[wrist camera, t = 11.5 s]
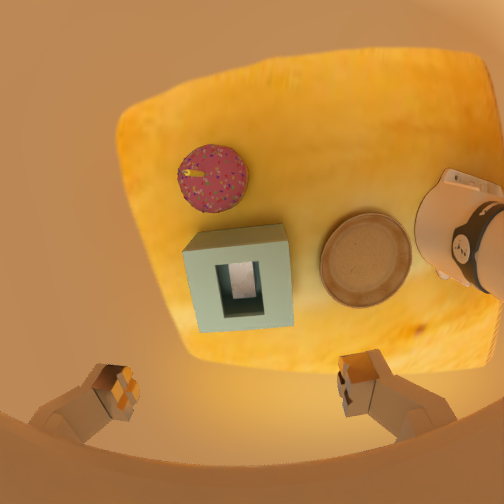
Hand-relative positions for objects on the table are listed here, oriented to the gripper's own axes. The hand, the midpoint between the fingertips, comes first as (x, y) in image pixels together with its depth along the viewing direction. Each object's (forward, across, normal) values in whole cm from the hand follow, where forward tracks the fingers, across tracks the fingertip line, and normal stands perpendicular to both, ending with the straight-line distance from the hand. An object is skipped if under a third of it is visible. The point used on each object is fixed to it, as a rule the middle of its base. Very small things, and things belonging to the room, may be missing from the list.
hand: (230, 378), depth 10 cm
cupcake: (+31, +4, -6) cm, 32 cm away
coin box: (+31, +2, +7) cm, 32 cm away
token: (+30, +2, +7) cm, 31 cm away
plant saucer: (+32, -16, +8) cm, 36 cm away
